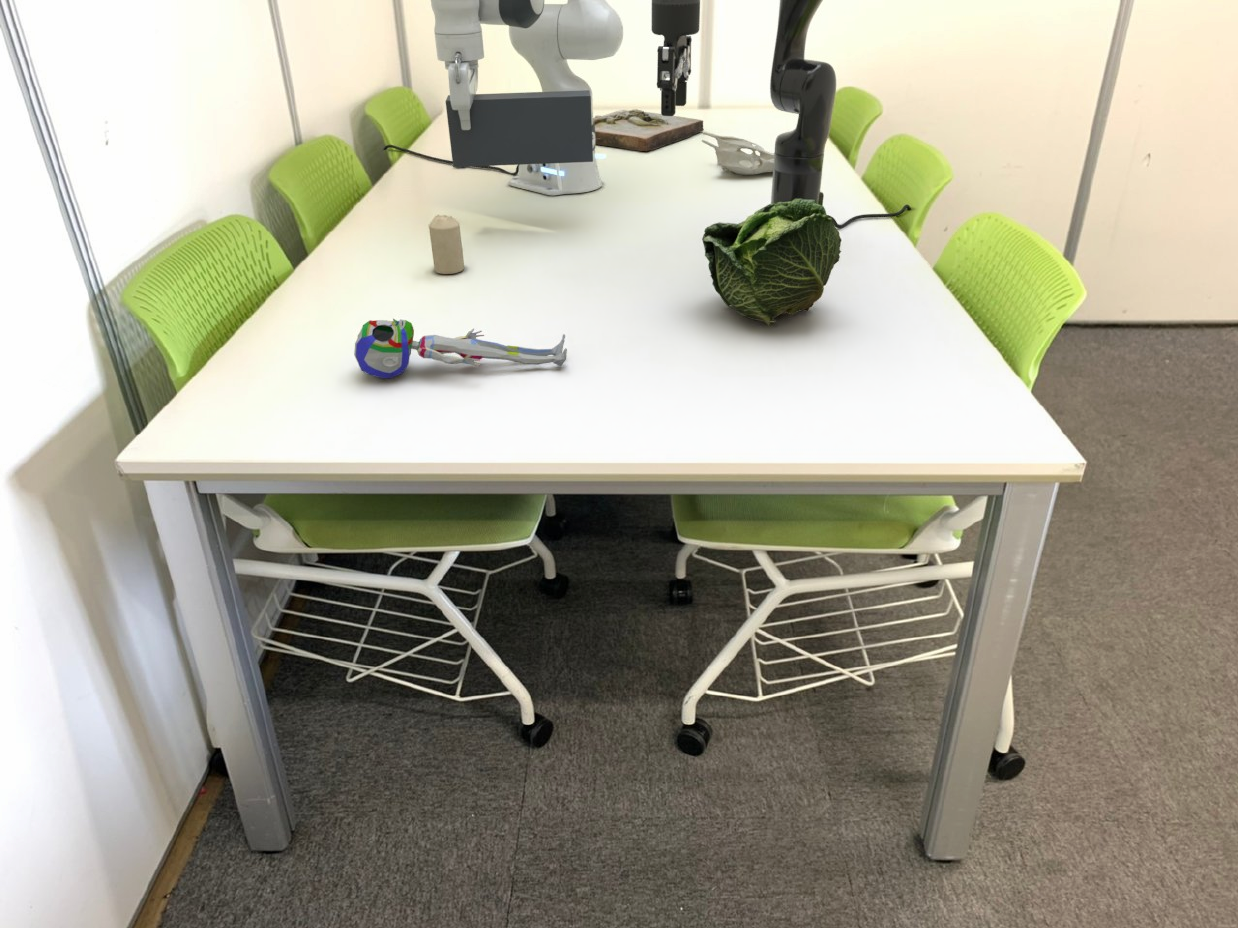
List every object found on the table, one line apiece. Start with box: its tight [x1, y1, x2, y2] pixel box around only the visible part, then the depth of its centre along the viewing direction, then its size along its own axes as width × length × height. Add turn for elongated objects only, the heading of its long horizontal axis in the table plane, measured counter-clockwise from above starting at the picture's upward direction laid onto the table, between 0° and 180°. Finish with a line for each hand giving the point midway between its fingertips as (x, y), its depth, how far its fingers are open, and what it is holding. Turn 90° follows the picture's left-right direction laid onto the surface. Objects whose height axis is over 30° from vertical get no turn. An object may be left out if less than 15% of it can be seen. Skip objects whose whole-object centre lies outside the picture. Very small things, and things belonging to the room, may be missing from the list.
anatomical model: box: [701, 131, 774, 176], centre depth 221 cm, size 15×9×25 cm
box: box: [445, 90, 593, 168], centre depth 178 cm, size 28×6×12 cm, turn 94°
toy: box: [353, 318, 568, 379], centre depth 130 cm, size 10×8×30 cm
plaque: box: [593, 108, 705, 152], centre depth 257 cm, size 30×7×30 cm
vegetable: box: [701, 198, 843, 326], centre depth 143 cm, size 20×19×20 cm
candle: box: [428, 214, 465, 275], centre depth 165 cm, size 6×6×10 cm
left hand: (467, 125), depth 177 cm, fingers closed on box, 6 cm apart
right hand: (674, 110), depth 147 cm, fingers open, 8 cm apart
